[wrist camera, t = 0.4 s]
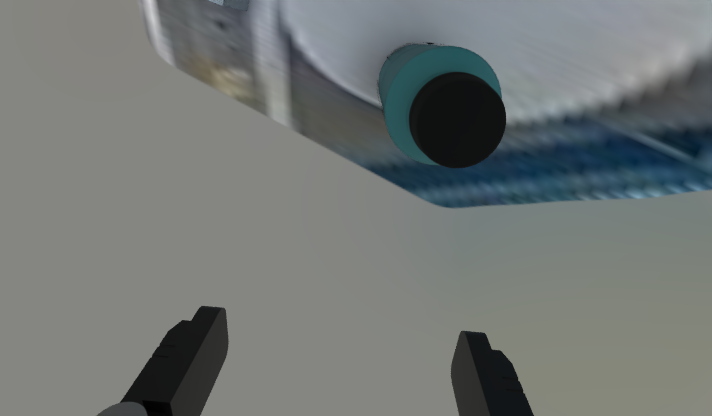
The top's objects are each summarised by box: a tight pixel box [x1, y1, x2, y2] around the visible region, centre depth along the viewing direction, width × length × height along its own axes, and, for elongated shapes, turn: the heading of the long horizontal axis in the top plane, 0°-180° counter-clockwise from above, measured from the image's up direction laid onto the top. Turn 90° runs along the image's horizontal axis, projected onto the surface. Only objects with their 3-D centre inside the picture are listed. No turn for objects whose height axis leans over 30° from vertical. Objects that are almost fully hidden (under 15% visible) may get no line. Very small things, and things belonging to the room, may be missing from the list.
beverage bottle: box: [377, 42, 506, 168], centre depth 25 cm, size 6×7×20 cm
